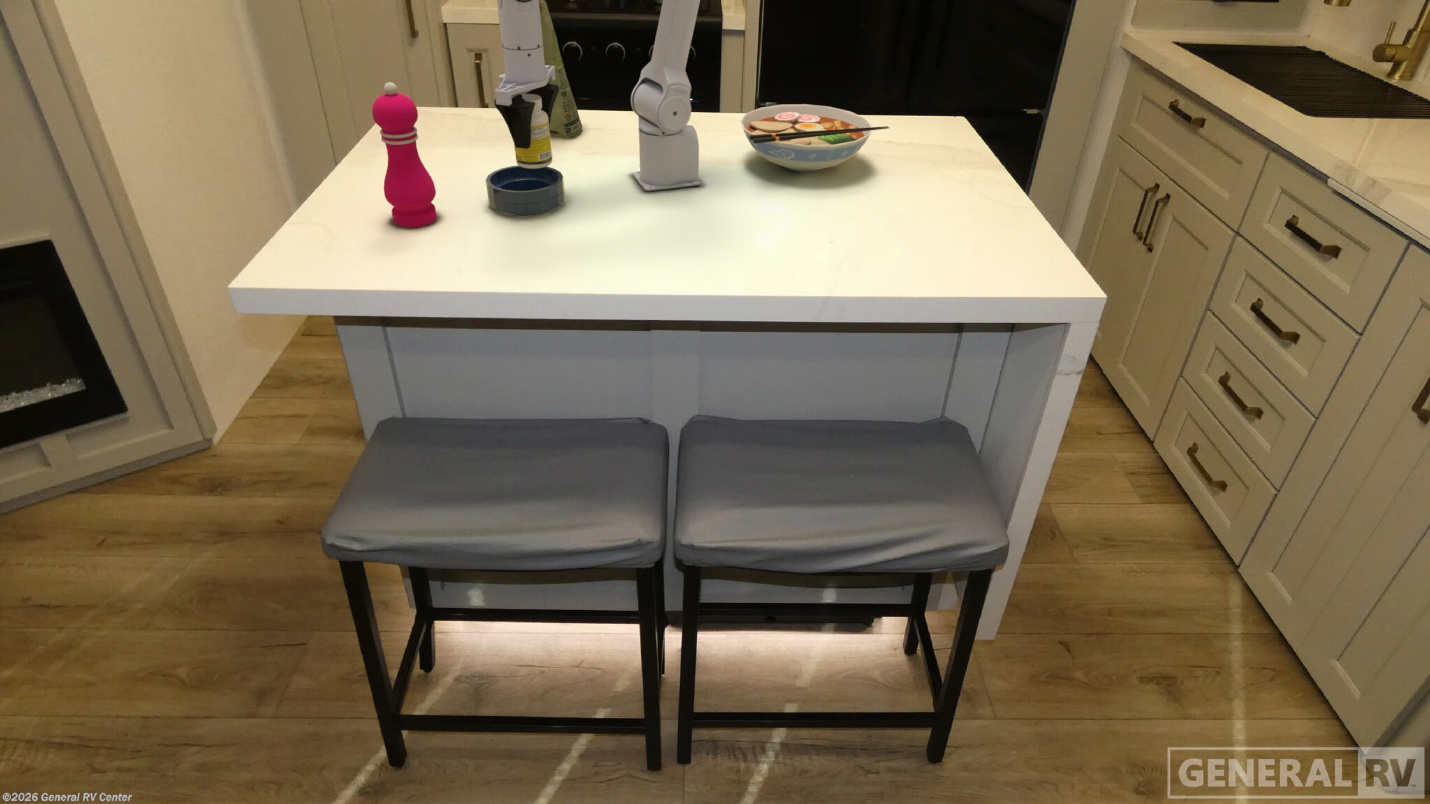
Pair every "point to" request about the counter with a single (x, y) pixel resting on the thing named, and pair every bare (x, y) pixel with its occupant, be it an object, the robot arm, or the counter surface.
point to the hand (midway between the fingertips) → (532, 141)
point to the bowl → (525, 190)
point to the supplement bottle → (536, 138)
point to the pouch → (558, 81)
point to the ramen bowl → (806, 135)
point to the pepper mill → (404, 160)
